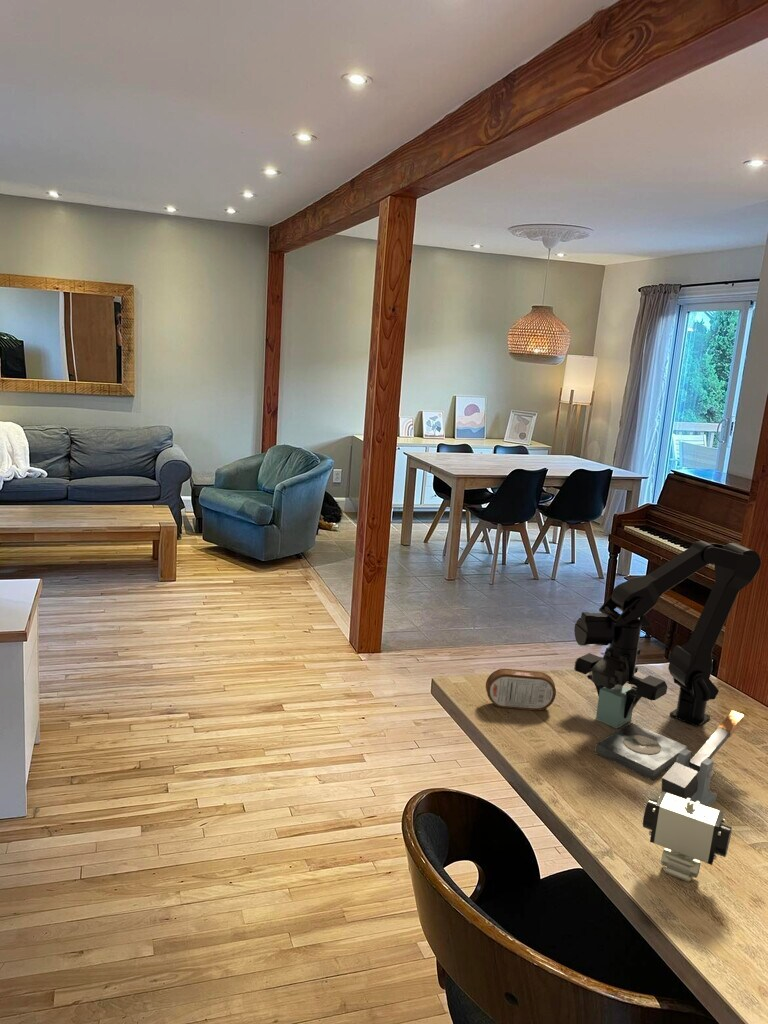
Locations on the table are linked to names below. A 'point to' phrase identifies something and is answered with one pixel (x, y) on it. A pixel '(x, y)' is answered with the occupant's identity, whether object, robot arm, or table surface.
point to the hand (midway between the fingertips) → (614, 712)
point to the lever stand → (700, 778)
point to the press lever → (699, 760)
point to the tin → (520, 689)
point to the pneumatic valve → (686, 834)
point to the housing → (613, 706)
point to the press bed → (640, 750)
